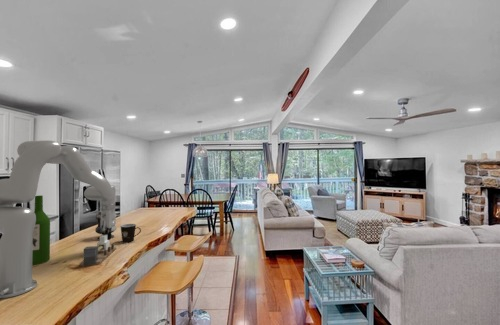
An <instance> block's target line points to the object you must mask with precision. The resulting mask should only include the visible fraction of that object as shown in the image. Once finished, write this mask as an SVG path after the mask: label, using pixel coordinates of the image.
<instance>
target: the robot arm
mask: <svg viewBox="0 0 500 325" xmlns="http://www.w3.org/2000/svg"><path fill="white" fill-rule="evenodd" d="M16 150H17V154H18V157H17V158H16V160H15V161H14V163H13V165H12V167H11V168H12V169H11V173H10V175H9V178H1V179H0V232H2V235H1V237H0V299H8V298H12V297H16V296H20V295H22V294H26V293H28V292H30V291H32V290H33V289H35V288H36V287H37V286H38V280H36V279H33V265H32V254H33V231H34V227H35V223H36V215H35V213H34V210H32V209H30V208H28V207H24V206H15V204H25V203H30V202H32V201H33V200H35V196H37V192H38V191H37V190H38V187H39V180H40V177H41V173H42V169H43V168H44V166H45V165H46V164H55V165H59V164H60V165H63V166H64V168H65V169H66V171H67V172H68V173H69V174H70V175H71V177H72V178H73V179H74V180H76V181H78V182H81V183H84V184H87V185H89V186H88V187H86V189H85V190H84V192H83V195H84V197H85V198H86V199H87V200H90V201H99V211H101V220H100V227H101V228H102V229H103V231H104V235H107V240H112V238H111V235H112V233H111V229H112V227H113V226H114V225H115V226H116V224H117V223H116V220H117V219H116V218H117V217H116V218H115V214H116V185H111V183H110V181H109V180H108V179H107V178H106V177H104V176H103V175H101V174H100V173H98V172H97V171H95V170H94V169H92V168H91V166H90V165H89V163H88V162H87V161H86V159H85V158H84V157H83V155H82V154H81V152H80V151H79V150H78V148H76V147H74V146H71V145H61V144H60V143H59V142H57V141H55V140H28V141H24V142H21V143H20V144H19V145H18V146H17V149H16Z"/></svg>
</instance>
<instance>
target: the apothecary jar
mask: <svg viewBox="0 0 500 325" xmlns="http://www.w3.org/2000/svg"><path fill="white" fill-rule="evenodd" d="M115 218H117V213H115ZM95 219H96V220H97V226H96V227H95V230H94V231H95V233H97V234H99V235H100V236H102V235H104V231H103V229H102V228H101V227H100V220H101V211H100V210H99V211H98V213H97V214H96V216H95ZM116 230H117V226H116V224H115V225H114V226H113V227H112V229H111V239H113V238H115V235H113V233H114V232H115V231H116ZM100 236H98V237H97V238H96V239H97V240H99V241H100Z"/></svg>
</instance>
